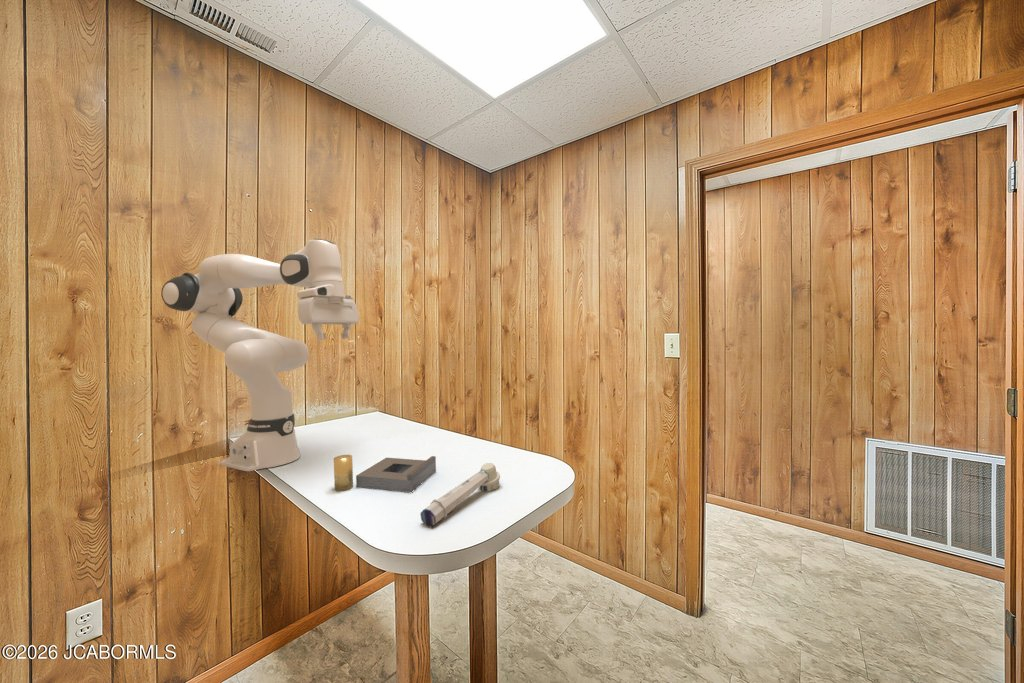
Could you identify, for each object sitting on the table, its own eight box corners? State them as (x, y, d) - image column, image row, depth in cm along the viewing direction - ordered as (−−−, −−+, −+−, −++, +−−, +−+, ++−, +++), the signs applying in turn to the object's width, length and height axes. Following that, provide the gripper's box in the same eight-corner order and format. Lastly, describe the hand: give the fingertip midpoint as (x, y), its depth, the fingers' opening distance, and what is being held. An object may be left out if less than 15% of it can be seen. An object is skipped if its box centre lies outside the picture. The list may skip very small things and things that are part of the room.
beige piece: (416, 506, 78) (486, 455, 98) (420, 534, 79) (488, 478, 99) (434, 512, 75) (502, 458, 96) (438, 542, 76) (504, 482, 97)
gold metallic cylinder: (330, 490, 95) (329, 459, 94) (342, 483, 99) (341, 454, 99) (345, 492, 94) (344, 461, 93) (356, 484, 98) (355, 455, 98)
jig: (356, 486, 96) (355, 470, 96) (386, 467, 110) (386, 452, 110) (411, 492, 93) (411, 475, 93) (435, 471, 106) (435, 456, 106)
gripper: (345, 297, 121) (350, 339, 121) (291, 291, 102) (297, 341, 102) (361, 294, 119) (366, 337, 119) (309, 288, 100) (315, 338, 100)
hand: (334, 339), depth 110 cm, fingers open, 8 cm apart
